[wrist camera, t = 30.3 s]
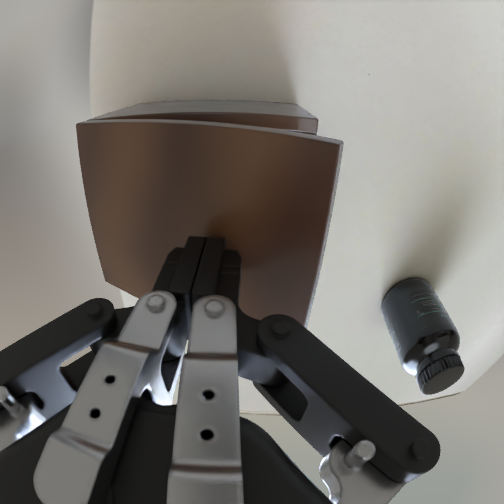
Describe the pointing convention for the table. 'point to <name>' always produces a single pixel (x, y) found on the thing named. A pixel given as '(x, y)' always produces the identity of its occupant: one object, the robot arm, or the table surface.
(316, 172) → the lid
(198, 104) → the chest
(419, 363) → the supplement bottle
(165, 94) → the table surface
